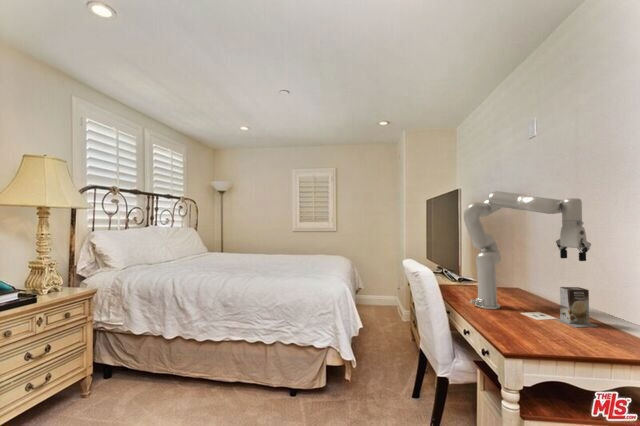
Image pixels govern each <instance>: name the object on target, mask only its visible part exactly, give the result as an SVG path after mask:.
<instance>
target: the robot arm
mask: <svg viewBox="0 0 640 426" xmlns="http://www.w3.org/2000/svg"><path fill="white" fill-rule="evenodd" d="M582 205H583V202H582V200H581V199H580V198H576V197H575V198H564V199H557V198H556V199H555V198H549V197H539V196H532V195H528V194H523V193H515V192H507V191H506V192H505V191H501V190H500V191H497V190H496V191H495V190H494V191H492V192H490V193H489V195H488V197H487V199H486V200H485V201H483V202H479V201H478V202H473V203H470V204H469V205H468V206H466V208H465V210H464V212H463V220H464V224H465V227H466V230H467V232H468V236H469V238H470V242H471V244H472V246H473V248H474V249H478V250H480V252H479V253H477V255H476V257H475V265H476V266H475V267H476V274H477V297H476V298H475V299H470V300H469V303H470V304H475V305H474V306H475V307H477V308H480V309H485V310H498V309H500V308H501V304H499V303H498V295H497V272H496V267H495V266H497V265H499V264H500V262H501V260H502V257H501V254H500V253H501V252H500V250H499V247H498V245H497V242H496V240H495V238H494V236H493V235H492V234H491V233H489V232H486V231H485V228H484V225H483V223H482V222H481V219H480V218H486V217H487V216H488V217H489V216H490V215H492V214H493V213H495V212H497V211H499V210H500V209H502V208H505V209H510V210H518V211H529V212H532V213H541V214H547V215H554V214H555V215H556V214H561V228H560V236H559V239H557V240H556V241H555V244H556V247H557V248H558V250H559V252H560V253H559V255H560V257H559V258H560V259H568V250H567V249H568V248H571V249H572V248H573V249H577V250H578V261H579V262H587V253H588V252H589V250H590V248H591V246H592V243H591V242H590V241H588V240H587V234H586V230H585V227H584V226H583V225H584V221H583V206H582Z"/></svg>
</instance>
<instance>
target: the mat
mask: <svg viewBox="0 0 640 426" xmlns="http://www.w3.org/2000/svg"><path fill="white" fill-rule="evenodd" d="M555 321H558V322H560V323H563V324H565V325H569V326H571V327H573V328H576V329H577V328H591V327H592V328H594V327H599V325H598V324H596V323H595V324H594V323H591V322H589V324H570V323H567V322H565V321H563V320H561V319H560V318H557V319H555Z"/></svg>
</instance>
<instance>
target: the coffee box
mask: <svg viewBox="0 0 640 426" xmlns="http://www.w3.org/2000/svg"><path fill="white" fill-rule="evenodd" d="M589 294H590V291H589V289H587V288H583V287H578V286H573V287H572V286H560V287H559V311H560V312H559V313H560V314H559V319H561V320H563V321H565V322H567V323H570V324H589V323H590V295H589Z"/></svg>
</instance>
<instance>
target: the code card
mask: <svg viewBox="0 0 640 426" xmlns="http://www.w3.org/2000/svg"><path fill="white" fill-rule="evenodd" d="M520 314H521V315H523V316H526V317H527V318H528V317H529V318H531V319H534V320H536V321H545V320H548V321H549V320H556V319H558V318H557V317H553V316H552V315H549V314H546V313H543V312H541V311H536V312H535V311H534V312H520Z"/></svg>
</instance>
